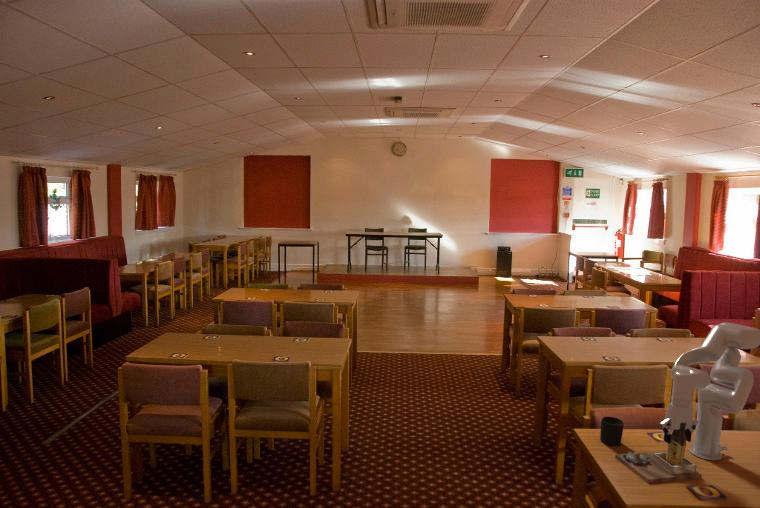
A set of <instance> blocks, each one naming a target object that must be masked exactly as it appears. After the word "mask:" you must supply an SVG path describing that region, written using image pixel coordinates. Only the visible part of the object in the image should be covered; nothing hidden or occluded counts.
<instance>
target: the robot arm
mask: <svg viewBox="0 0 760 508" xmlns="http://www.w3.org/2000/svg"><path fill="white" fill-rule="evenodd" d="M759 346H760V329H758V328H756V327H751V326H747V325H743V324H742V325H741V324H738V323H733V322H721V323H718V324H715V325H714V326H712V328H711V329H710V330H709V332H708V334H707V335H706V337H705V338H704V340H703V341H702V343H701V344H700V346H698V347H695V348H692V349H690V350H688V351H685V352H684V353H682V354H680V356H679V357H678V358H677V359H676V361H675V362H674V364H673V365H672V368H671V370H670V377H671V379H673V380H672V391H671V397H670V402H669V403H668V406H667V408H666V411H665V417H664V420H663V421H660V422H659V425H660V429H661V430H662V432H663V442H665V443H666V444H670V442H671V434H672V432H673V430H679V428H680V423H684V422H686V426H685V435H686V438H687V440H686V442H688V443H691V442H692V433H694V439H693V444H691V445H689V447H688V452H690V453H691V455H693V456H695V457H698V458H700V459H703V460H707V461H715V462H716V461H720V460H722V458H723V455H722V453H721V452H722V451H728V446H727V445H720V444H721V443H720V441H721V435H722V427H723V426H722V425H723V414H722V412H721V411H723V412H726V413H729V414H733V415H738V414H740V413H741V412H742V411H743V409H744V407H745V405H746V402H747V400H748V398H749V395H750V392H751V390H752V388H753V386H754V374H753V372H752V371H751V370H749V369H748V368H745V367H741V366H739V365H740V362H741V360H742V355H741V352H740V350H739V349H741V350H751V349H756V348H759ZM709 362H711V363H712V362H713V365H712V367H711V369H710V373H708V372H707V371H705V370H701V369H697V368H694V367H691V365H693V364H698V363H709ZM711 381H712V382H714V383H711ZM715 383H716V384H715ZM718 384H719V385H718ZM721 385H722V386H721ZM724 386H726V387H724ZM727 387H728V388H727ZM730 388H731V389H730ZM694 390H697V415H696V419H695V418H694V407H693V402H694V401H695V400H694V392H695V391H694ZM694 430H695V431H694Z"/></svg>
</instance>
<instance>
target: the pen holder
mask: <svg viewBox="0 0 760 508" xmlns="http://www.w3.org/2000/svg"><path fill="white" fill-rule="evenodd" d="M624 426H625V424H624V422H623V420H622V419H620V418H617V417H613V416H604V417H602V418H601V422H600V438H599V440H600V441H601V443H603V444H605V445H607V446H609V447H618V446H620V445H621V443H622V439H623V433H624V432H623V431H624Z"/></svg>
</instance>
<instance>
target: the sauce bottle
mask: <svg viewBox="0 0 760 508" xmlns="http://www.w3.org/2000/svg"><path fill="white" fill-rule="evenodd" d="M685 426H686V422H684V423H680V428H679V430H673V431H672V432H671V433H670V434H671V442H670V444H668V443H667V444H668V445H667V449H666V451H667V455H666V462H668V463H669V464H671V465H672V466H679V465H683V459H684V457H685V453H686V446H687V438H686V435H685V430H686V429H685Z"/></svg>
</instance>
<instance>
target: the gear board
mask: <svg viewBox="0 0 760 508" xmlns="http://www.w3.org/2000/svg"><path fill="white" fill-rule="evenodd" d="M666 455H667V450H662V451H661V450H660V451H649V452H648V451H647V452H638V451H634V452H632V451H627V452H624V453H621V454H619V453H618V454H615V456H614V457H615V459H616V460H618V461H619V462H620V463H621V464H622V465H624V466H625V467H626V466H627V467H626V468H628V469H629V470H630V471H631V470H632V471H631V472H633V473H634V474H636V475H637V476H638V477H639V478H641V479H642V480H643V481H644V482H645V483H647V484H649V483H651V484H652V483H663V482H672V481H673V482H675V481H685V480H699V479H702V477H703V474H702V473H700V472H698V471H697V464H696V463H694V462H693V461H691V460H690V459H689V458H687V457H685V456H684V459H683V465H679V466H672V465H671V464H669V463H668V462H666Z"/></svg>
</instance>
